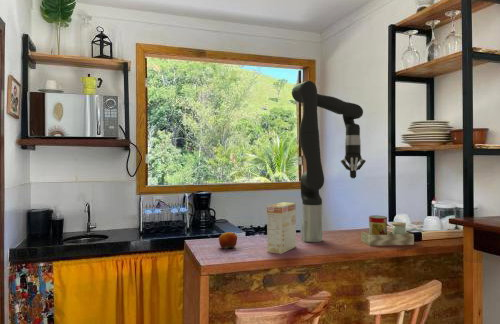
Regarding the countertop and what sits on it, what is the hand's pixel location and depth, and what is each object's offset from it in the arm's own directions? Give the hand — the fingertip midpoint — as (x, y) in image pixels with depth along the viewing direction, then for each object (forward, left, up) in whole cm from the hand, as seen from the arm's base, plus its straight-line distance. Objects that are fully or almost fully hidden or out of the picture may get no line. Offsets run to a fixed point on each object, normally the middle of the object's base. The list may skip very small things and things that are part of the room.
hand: (353, 178), depth 189 cm
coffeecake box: (-41, -29, -29) cm, 58 cm away
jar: (+15, -20, -29) cm, 38 cm away
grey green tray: (+9, -20, -29) cm, 36 cm away
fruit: (-64, -24, -29) cm, 74 cm away
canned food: (+5, -19, -29) cm, 35 cm away
